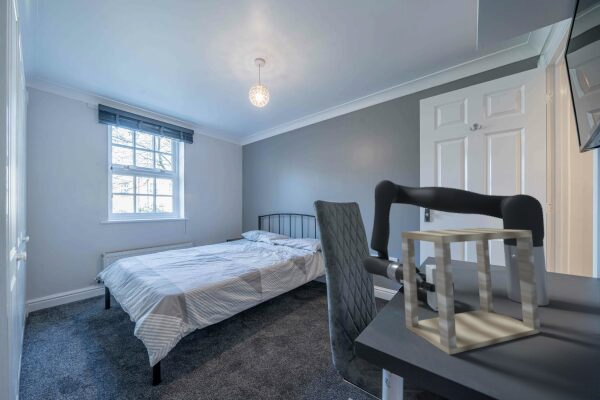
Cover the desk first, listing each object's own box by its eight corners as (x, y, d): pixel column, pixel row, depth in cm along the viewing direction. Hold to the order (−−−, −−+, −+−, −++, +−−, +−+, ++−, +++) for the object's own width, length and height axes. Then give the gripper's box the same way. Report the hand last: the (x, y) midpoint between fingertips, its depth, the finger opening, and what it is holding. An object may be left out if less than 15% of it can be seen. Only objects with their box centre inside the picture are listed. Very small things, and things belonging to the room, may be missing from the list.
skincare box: (450, 312, 66) (447, 269, 67) (434, 311, 67) (431, 268, 68) (441, 303, 72) (439, 264, 73) (426, 303, 73) (424, 264, 74)
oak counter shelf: (486, 312, 65) (479, 228, 67) (540, 332, 54) (531, 230, 55) (406, 327, 58) (401, 232, 59) (449, 354, 46) (441, 235, 48)
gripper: (385, 264, 82) (422, 276, 66) (418, 261, 86) (461, 271, 70) (386, 286, 81) (424, 303, 65) (420, 282, 85) (463, 297, 69)
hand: (443, 287), depth 68 cm, fingers closed on skincare box, 6 cm apart
